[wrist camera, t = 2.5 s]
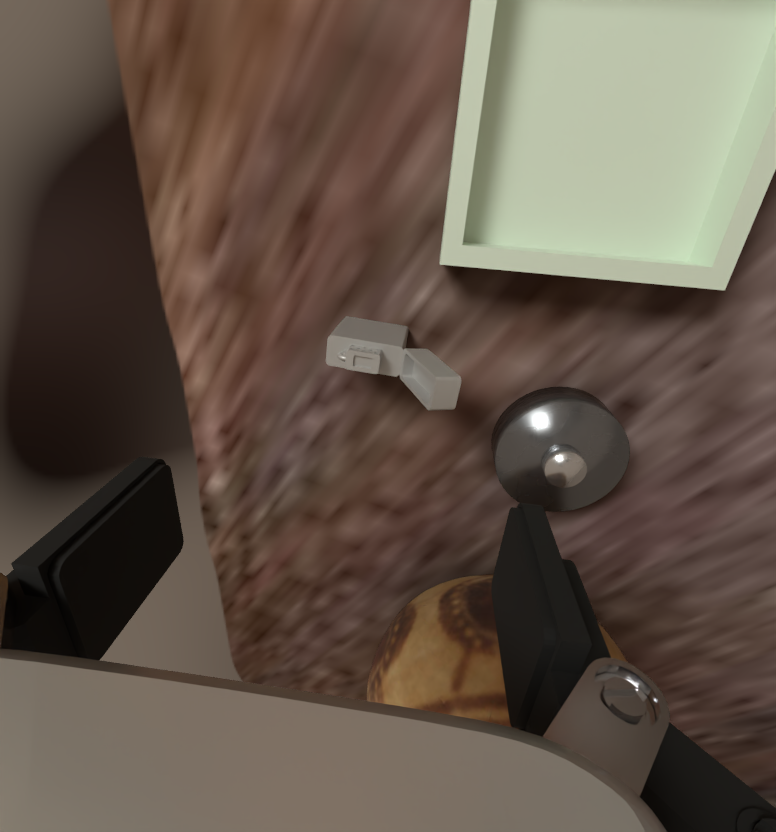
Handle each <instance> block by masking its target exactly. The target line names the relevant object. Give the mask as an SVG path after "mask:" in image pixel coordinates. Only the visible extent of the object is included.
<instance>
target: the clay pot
mask: <svg viewBox="0 0 776 832" xmlns="http://www.w3.org/2000/svg"><path fill="white" fill-rule="evenodd" d="M492 579H493V575H475V576H467V577H461V578H457V579H453V580H450V581H447V582H444V583H441V584H438V585H436V586H434V587H432V588H430V589H428V590H426V591H424V592H423V593H421V594H420V595H419V596H417V597H416V598H414V599H413V600H411V601H410V602H409V603H408V604H407V605H406V606H405V607H404V608H403V609H402V610H401V611H400V612H399V614H398V615H397V616H396V617H395V619H394V620H393V621H392V623H391V624H390V626H389V627H388V629H387V631H386V633H385V634H384V636H383V638H382V640H381V642H380V645H379V647H378V649H377V652H376V655H375V657H374V660H373V663H372V667H371V672H370V676H369V680H368V689H367V701H370V702H377V703H383V704H389V705H396V706H402V707H408V708H414V709H420V710H426V711H431V712H437V713H443V714H448V715H454V716H460V717H465V718H471V719H477V720H481V721H486V722H490V723H495V724H499V725H503V726H508V727H512V726H511V724H510V720H509V713H508V706H507V699H506V692H505V685H504V678H503V671H502V664H501V657H500V650H499V643H498V636H497V629H496V622H495V615H494V608H493V601H492V594H491V586H492ZM598 625H599V628H600V630H601V633H602V635H603V638H604V640H605V643H606V646H607V648H608V651H609V653H610V656H611V658H616V659H619V660H622V661H625V662H627V661H626V659H625V658H624V656H623V654H622V653H621V651H620V650H619V648H618V647H617V645H616V644H615V642H614V641H613V640H612V639H611V637H610V636H609V635H608V633H607V632H606V631H605V629H604V628H603V627H602V626H601V625H600V624H599V623H598ZM516 729H518V728H516Z"/></svg>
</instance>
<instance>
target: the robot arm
mask: <svg viewBox="0 0 776 832" xmlns="http://www.w3.org/2000/svg"><path fill="white" fill-rule="evenodd" d="M182 546H183V534H182V529H181V523H180V517H179V512H178V506H177V501H176V496H175V489H174V484H173V478H172V473H171V468H170V467H169V466H168V465H166V464H165V462H164V460H162V459H156V458H148V457H139V458H137V459H136V460H135V461H133V462H132V463H131V464H130V465H129V466H127V467H126V468H125V469H124V470H123V471H122V472H120V473H119V474H118V475H117V476H115V477H114V478H113V479H112V480H111V481H109V482H108V483H107V484H106V485H105V486H103V488H101V489H100V490H99V491H98V492H96V493H95V494H94V495H93V496H92V497H90V498H89V499H88V500H87V501H86V502H84V503H83V504H82V505H81V506H80V507H78V508H77V509H76V510H75V511H74V512H72V513H71V514H70V515H69V516H68V517H66V518H65V519H64V520H63V521H62V522H60V523H59V524H58V525H57V526H56V527H54V528H53V529H52V530H51V531H50V532H48V533H47V534H46V535H45V536H44V537H42V538H41V539H40V540H39V541H38V542H36V543H35V544H34V545H33V546H32V547H30V548H29V549H28V550H27V551H26V552H25V553H23V554H22V555H21V556H20V557H19V558H17V559H16V560H15V561H14V562H13V563H12V566H13V569H14V570H13V571H11V572H10V573H9V574H8V575H7V576H5V575H4V574H3V573H1V572H0V832H776V808H774V807H773V806H772V805H771V804H770V803H768V802H767V801H766V800H765V799H763V798H762V797H761V796H760V795H758V794H757V793H756V792H755V791H753V790H752V789H751V788H750V787H749V786H747V785H746V784H745V783H744V782H742V781H741V780H740V779H739V778H737V777H736V776H735V775H734V774H732V773H731V772H730V771H729V770H728V769H726V768H725V767H724V766H723V765H721V764H720V763H719V762H718V761H716V760H715V759H714V758H713V757H711V756H710V755H709V754H708V753H707V752H705V751H704V750H703V749H702V748H700V747H699V746H698V745H697V744H695V743H694V742H693V741H692V740H690V739H689V738H688V737H687V736H686V735H684V734H683V733H682V732H681V731H679V730H678V729H677V728H676V727H674V726H673V725H672V724H671V723H669V719H670V712H669V708H668V704H667V701H666V700H665V698H664V696H663V694H662V692H661V690H660V689H659V688H658V687H657V686H656V684H655V683H654V682H653V681H652V680H651V678H649V677H648V676H647V675H646V674H644V673H643V672H642V671H641V670H640V669H638V668H636V667H635V666H633V665H631V664H629V663H628V662H625V661H622V660H619V659H616V658H611V656H610V653H609V651H608V648H607V646H606V643H605V640H604V638H603V635H602V633H601V630H600V628H599V625H598V622H597V620H596V617H595V615H594V612H593V610H592V607H591V604H590V602H589V599H588V597H587V594H586V592H585V589H584V586H583V584H582V581H581V579H580V576H579V574H578V571H577V568H576V566H575V565H574V563H573V562H572V561H571V560H563V559H561V556H560V553H559V550H558V547H557V545H556V542H555V539H554V536H553V533H552V531H551V528H550V525H549V522H548V519H547V517H546V514H545V511H544V508H543V506H541V505H534V504H526V503H519V505H518V507H517V508H513V507H512V508H511V509H510V511H509V515H508V519H507V523H506V527H505V531H504V535H503V539H502V543H501V547H500V551H499V555H498V559H497V563H496V567H495V571H494V575H493V579H492V586H491V594H492V601H493V608H494V615H495V622H496V629H497V636H498V643H499V650H500V657H501V664H502V671H503V678H504V685H505V692H506V699H507V706H508V713H509V720H510V724H511V726H512V727H508V726H503V725H499V724H495V723H490V722H486V721H481V720H477V719H471V718H465V717H460V716H454V715H448V714H443V713H437V712H431V711H426V710H420V709H414V708H408V707H402V706H396V705H389V704H383V703H377V702H370V701H364V700H358V699H351V698H345V697H339V696H332V695H326V694H320V693H313V692H307V691H300V690H294V689H287V688H281V687H274V686H268V685H261V684H254V683H248V682H241V681H235V680H228V679H221V678H215V677H208V676H201V675H195V674H188V673H182V672H175V671H168V670H160V669H154V668H147V667H140V666H133V665H127V664H120V663H112V662H106V661H99V660H100V659H101V658H102V656H103V655H104V654H105V652H106V651H107V650H108V648H109V647H110V646H111V644H112V643H113V642H114V640H115V639H116V637H117V636H118V635H119V634H120V632H121V631H122V630H123V628H124V627H125V625H126V624H127V623H128V621H129V620H130V619H131V618H132V616H133V615H134V613H135V612H136V611H137V609H138V608H139V607H140V605H141V604H142V603H143V601H144V600H145V599H146V597H147V596H148V595H149V593H150V592H151V591H152V589H153V588H154V587H155V585H156V584H157V583H158V581H159V580H160V579H161V577H162V576H163V575H164V573H165V572H166V571H167V569H168V568H169V566H170V565H171V563H172V562H173V561H174V560H175V558H176V557H177V556H178V554H179V553H180V551H181V549H182ZM516 728H518V729H516Z"/></svg>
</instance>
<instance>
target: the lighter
mask: <svg viewBox="0 0 776 832" xmlns="http://www.w3.org/2000/svg"><path fill="white" fill-rule="evenodd" d="M408 331H409V329H408V328H407V326H402V325H396V324H390V323H384V322H378V321H372V320H366V319H360V318H354V317H348V316H346V317H345V318H344V319H343V320H342V321H341V322H340V324H339V325H338V326H337V327H336V328H335V330H334V331H333V332H332V333H331V334H330V336H329V337H328V342H327V354H326V363H327V364H328V365H330V366H336V367H342V368H346V369H348V370H354V371H360V372H365V373H371V374H383V375H388V376H394V377H397V376H398V375H400V379H401V380H402V381H403V382H404V384H405V385H406V386H407V387H408V388H409V389H410V390H411V391H412V393H413V394H414V395H415V396H416V397H417V398H418V399H419V400H420V402H421V403H422V404H423V405H424V406H425V407H426V408H427V409H428V411H430V410H453V409H455V407H456V403H457V399H458V394H459V390H460V386H461V377H460V376H459V375H458V374H457V373H455V372H454V371H453V370H452V369H451V368H450V367H448V366H447V365H446V364H445V363H444V362H442V361H441V360H440V359H439V358H438V357H437V356H435V355H434V354H433V353H432V352H431V351H429V350H428V349H410V348H406V344H407V337H408Z"/></svg>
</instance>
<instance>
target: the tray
mask: <svg viewBox="0 0 776 832" xmlns="http://www.w3.org/2000/svg"><path fill="white" fill-rule="evenodd" d="M775 170H776V0H471V3H470V12H469V20H468V28H467V37H466V45H465V53H464V61H463V70H462V78H461V86H460V94H459V103H458V111H457V119H456V128H455V136H454V144H453V152H452V161H451V169H450V177H449V185H448V194H447V202H446V210H445V219H444V227H443V235H442V243H441V252H440V265H451V266H462V267H473V268H484V269H495V270H506V271H517V272H528V273H539V274H550V275H561V276H572V277H583V278H594V279H605V280H616V281H626V282H637V283H648V284H659V285H670V286H681V287H692V288H703V289H714V290H725V289H726V287H727V284H728V282H729V279H730V277H731V275H732V272H733V270H734V267H735V265H736V263H737V260H738V258H739V255H740V253H741V251H742V248H743V246H744V244H745V241H746V239H747V236H748V234H749V232H750V229H751V227H752V224H753V222H754V220H755V217H756V215H757V212H758V210H759V208H760V205H761V203H762V201H763V198H764V196H765V193H766V191H767V189H768V186H769V184H770V181H771V179H772V177H773V174H774V172H775Z"/></svg>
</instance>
